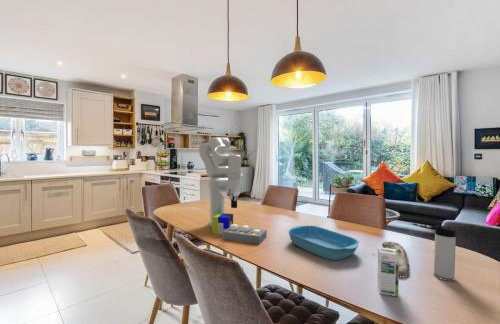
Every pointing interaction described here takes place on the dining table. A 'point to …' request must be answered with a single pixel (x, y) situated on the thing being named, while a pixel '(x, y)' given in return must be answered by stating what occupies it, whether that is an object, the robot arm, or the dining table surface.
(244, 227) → the middle button
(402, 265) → the long grey stone
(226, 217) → the puzzle toy
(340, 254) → the casserole dish
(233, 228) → the button
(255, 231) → the button
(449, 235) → the travel mug
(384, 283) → the syrup box
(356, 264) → the dining table surface
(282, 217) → the dining table surface
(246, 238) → the button board
